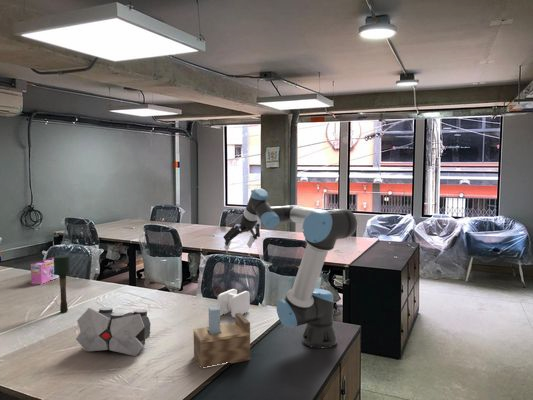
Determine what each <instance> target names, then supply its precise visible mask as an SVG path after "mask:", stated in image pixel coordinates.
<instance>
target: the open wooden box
mask: <svg viewBox="0 0 533 400" xmlns="http://www.w3.org/2000/svg"><path fill="white" fill-rule="evenodd" d="M193 358H194V359H195V358H196V359H195V361H196V360H197V361H198V363H199V364H198V363H197V364H198V366H199V365H200V366H201V368H203V367H207V366H212V365H217V364H222V363H226V362H230V363H231V364H234V363H235V364H236V363H240V362H245V361H250V360H251V334H250V335H248V336H242V337H236V338H230V339H225V340H219V341H213V342H207V343H200V341H199V340H198V338H197V337H196V335H195V334H194V333H193ZM197 361H196V362H197ZM200 366H199V367H200ZM201 368H200V369H201Z"/></svg>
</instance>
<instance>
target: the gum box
mask: <svg viewBox="0 0 533 400" xmlns="http://www.w3.org/2000/svg"><path fill="white" fill-rule="evenodd" d="M54 257H55V256H53V257H49V258H47V259H44V260H40V261H36V262H33V263H30V275H31V276H30V277H31V281H30V282H31V285H37V284H42V285H44V284H43V283H45V284H47V283H49V282H48V281H50V280H53V279H55V278H58V277H59V275H54V274H53V273H54ZM58 279H59V278H58ZM53 281H54V280H53ZM46 282H47V283H46ZM50 282H51V281H50Z"/></svg>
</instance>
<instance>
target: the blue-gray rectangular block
mask: <svg viewBox="0 0 533 400" xmlns="http://www.w3.org/2000/svg"><path fill="white" fill-rule="evenodd" d="M220 325H221V315H220V309H219V308H218V306H211V307H208V327H209V334H210V335H214V334H220Z"/></svg>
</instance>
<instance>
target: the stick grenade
mask: <svg viewBox="0 0 533 400" xmlns="http://www.w3.org/2000/svg"><path fill="white" fill-rule="evenodd" d="M53 257H54V273H53V274H54V275H59V278H58V279H59V287H60V305H59V307H60V309H59V312H60V314H61V313H63V314H64V313H67V312H68V310H69V308H68V301H67V275H69V274H71V273H72V269H71V267H72V266H71V255H69V254H60V255H55V256H53Z"/></svg>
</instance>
